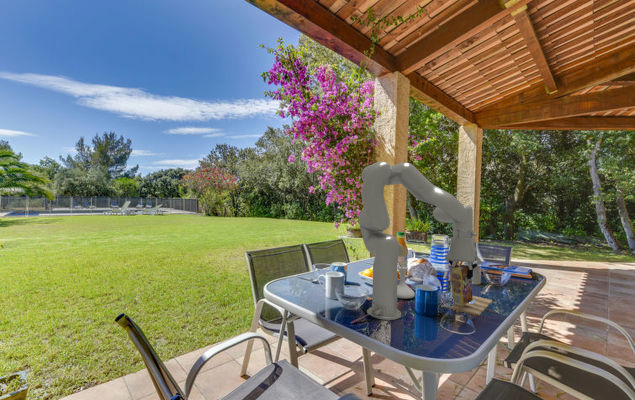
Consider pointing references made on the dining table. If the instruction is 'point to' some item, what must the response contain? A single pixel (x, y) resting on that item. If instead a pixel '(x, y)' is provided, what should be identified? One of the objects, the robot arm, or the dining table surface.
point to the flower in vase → (403, 278)
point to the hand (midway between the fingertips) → (462, 277)
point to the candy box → (461, 285)
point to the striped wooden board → (473, 306)
